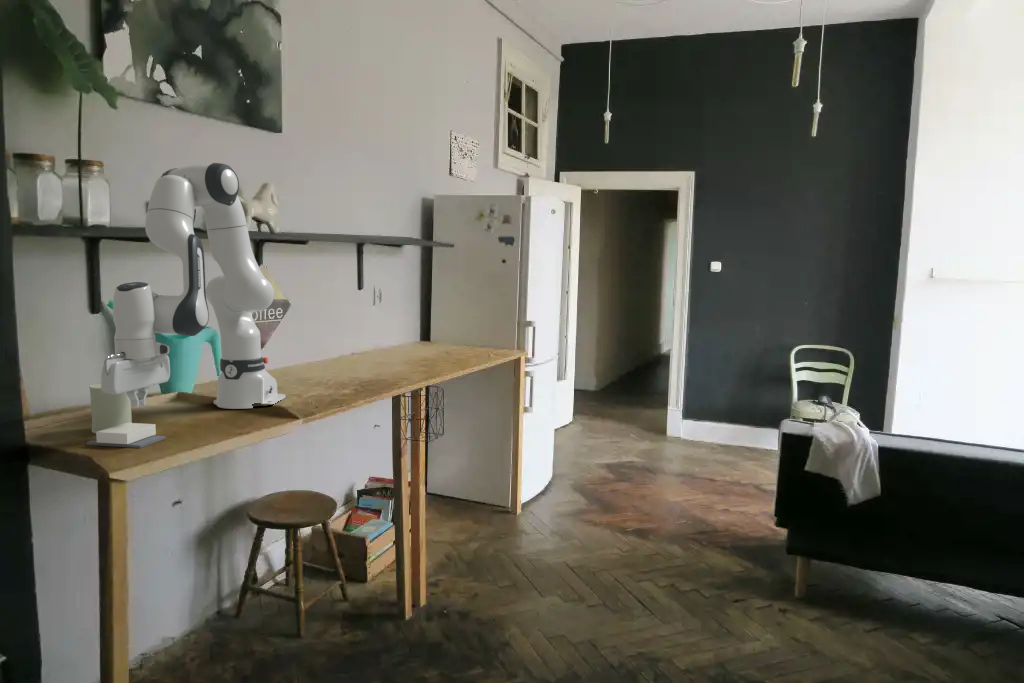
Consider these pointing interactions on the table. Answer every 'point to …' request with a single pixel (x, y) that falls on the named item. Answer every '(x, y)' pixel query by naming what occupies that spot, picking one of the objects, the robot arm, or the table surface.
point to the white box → (126, 433)
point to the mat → (136, 444)
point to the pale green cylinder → (108, 409)
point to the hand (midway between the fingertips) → (138, 406)
